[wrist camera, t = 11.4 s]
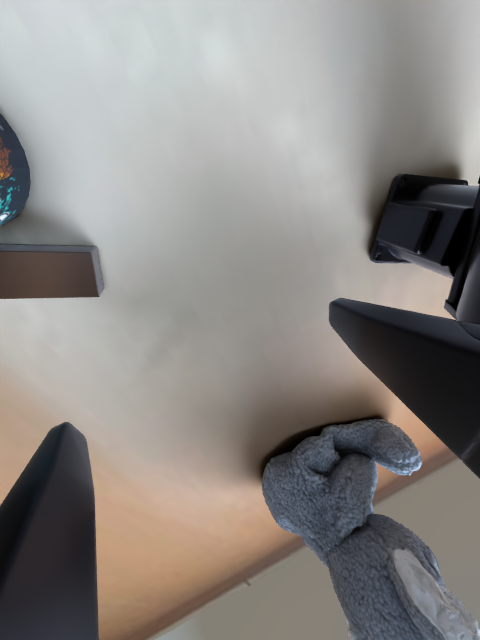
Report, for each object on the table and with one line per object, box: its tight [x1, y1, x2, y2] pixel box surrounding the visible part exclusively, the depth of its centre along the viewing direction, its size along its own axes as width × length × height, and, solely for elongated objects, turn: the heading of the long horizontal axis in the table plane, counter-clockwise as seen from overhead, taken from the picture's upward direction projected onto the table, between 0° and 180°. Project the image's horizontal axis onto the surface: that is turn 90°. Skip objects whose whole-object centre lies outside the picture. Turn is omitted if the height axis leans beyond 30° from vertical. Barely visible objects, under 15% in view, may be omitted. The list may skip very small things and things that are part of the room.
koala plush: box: [262, 419, 480, 640], centre depth 28 cm, size 17×18×20 cm
